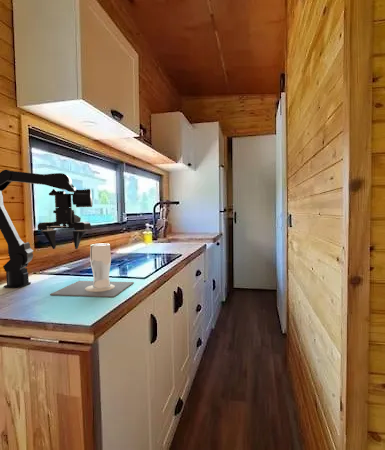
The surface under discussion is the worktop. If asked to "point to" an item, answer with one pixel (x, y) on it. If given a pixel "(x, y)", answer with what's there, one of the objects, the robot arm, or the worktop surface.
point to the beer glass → (100, 265)
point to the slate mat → (92, 289)
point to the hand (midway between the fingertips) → (65, 248)
